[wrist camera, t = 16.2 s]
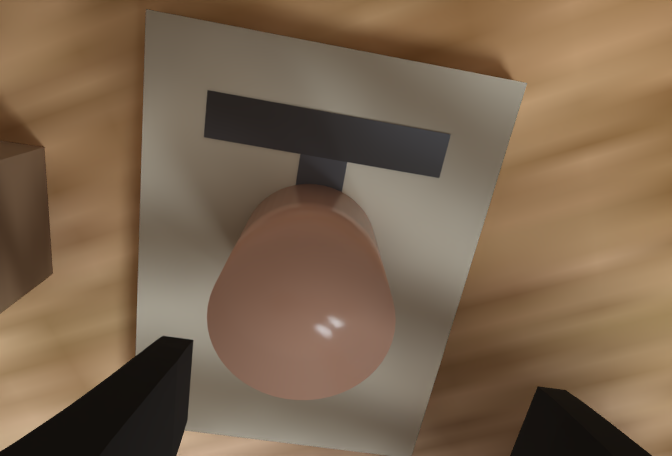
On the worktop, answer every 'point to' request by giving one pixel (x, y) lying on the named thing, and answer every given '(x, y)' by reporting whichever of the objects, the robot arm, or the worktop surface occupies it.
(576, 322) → the worktop surface
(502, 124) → the letter board
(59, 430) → the robot arm
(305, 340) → the terracotta cylinder
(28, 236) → the walnut block
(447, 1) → the worktop surface
